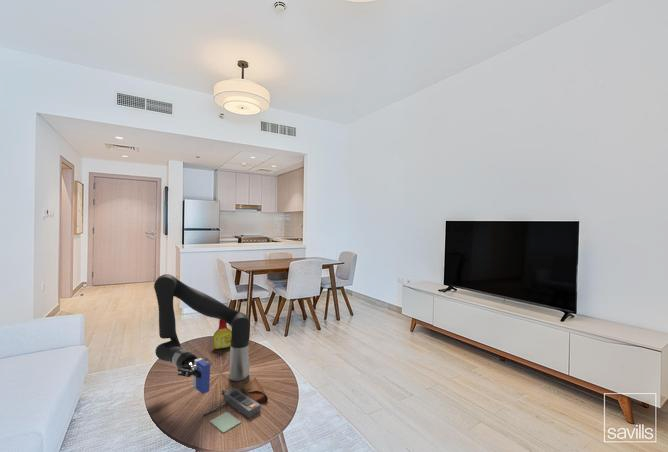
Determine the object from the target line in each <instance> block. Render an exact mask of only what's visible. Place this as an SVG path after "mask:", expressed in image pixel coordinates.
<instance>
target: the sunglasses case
mask: <svg viewBox="0 0 668 452" xmlns="http://www.w3.org/2000/svg"><path fill="white" fill-rule="evenodd" d="M240 388H242V389H241V390H242V392H243V394H245V395H247V396H248V397H250V398H251V399H253V400H254V401H256V402H257V403H259V404H260V405H261V404H264V403H267V402H268V396H267V394H266V392H265V390H264V389H263V388H262V386H261V384H260V381H258V379H257V378H256V377H254V378H253V379H251V380H250V381H249V382H246V384H245V385H243V386H240Z"/></svg>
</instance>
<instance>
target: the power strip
mask: <svg viewBox="0 0 668 452" xmlns="http://www.w3.org/2000/svg"><path fill="white" fill-rule="evenodd" d="M221 392H222V393H223V401H224V400H225V401H224V403H221V404H219V405H218V406H216V407H214V408H212V409H210V410H208V411H206V412H204V413H203V414H202V416H203V417H206V416H208V415H209V414H211V413H213V412H215V411H217V410H219V409H221V408H223V407H225V406H227V405H228V403H229V405H230V406H231V405H232V407H233V408H234V409H236V410H237V411H238V412H240V413H241V414H242V415H244V416H245V417H247V418H248V419H250V418H252V417H253V416H255V415H257V414H258V413H259V412H261V403H260V404H259V403H257V402H256V401H254V400H253V399H251V398H250V397H248V396H247V395H245V393H244V392H243V391H240V390H239V389H237V388H232V389H231V390H228V391H226V390H224V389H221ZM226 404H227V405H226ZM224 405H225V406H224ZM222 406H223V407H222Z"/></svg>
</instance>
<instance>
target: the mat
mask: <svg viewBox="0 0 668 452" xmlns="http://www.w3.org/2000/svg"><path fill="white" fill-rule="evenodd" d="M209 423H210V424H212V425H213V426H214V427H215V428H216V429H218V430H219V431H220V432H221V433H222V434H225V433H227V432H228V431H230V430H232V429H233V428H234V427H236V426H238V425H240V424H241V423H242V422H241V421H240V420H239V419H238V418H236V417H235V416H233V414H231V413H230V412H228V411H226V412H224V413H222V414H220V415H218V416H217V417H214V418H213V419H211V420H209Z"/></svg>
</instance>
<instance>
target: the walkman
mask: <svg viewBox="0 0 668 452" xmlns="http://www.w3.org/2000/svg"><path fill="white" fill-rule="evenodd" d="M194 368H195V369H196V370H198V371H199V372H201V378H197V377H196V376H193V384H192V385H193V386H192V387H193V388H194V389H195V390H197V391H198V392H199V393H201V394H202V395H204V394H206V393H208V392H210V382H211V381H210V377H211V375H210V374H211V363H209V361H208V362H206V361H205V359H203V358H201V357H199V358H197V359H195V360H194Z"/></svg>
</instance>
